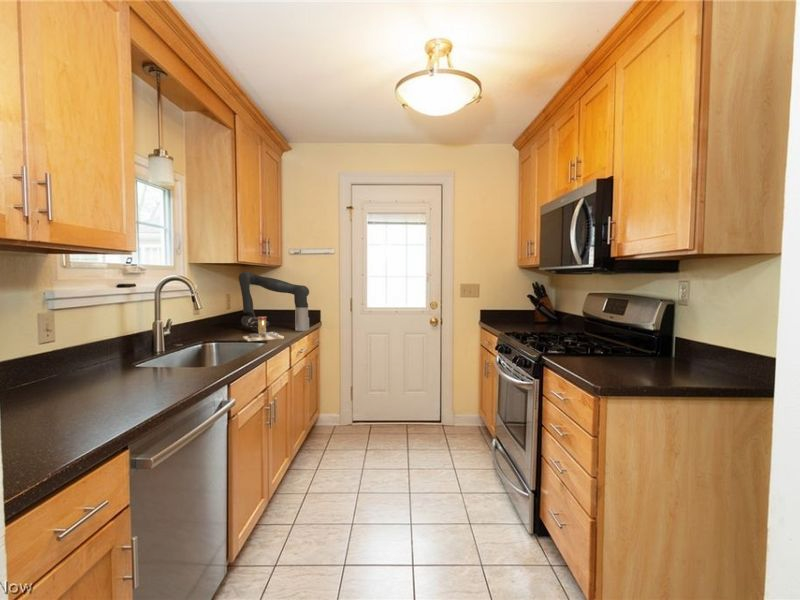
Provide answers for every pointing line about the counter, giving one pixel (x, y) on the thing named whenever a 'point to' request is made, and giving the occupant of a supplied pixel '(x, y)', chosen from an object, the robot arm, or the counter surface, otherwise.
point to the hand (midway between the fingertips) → (260, 325)
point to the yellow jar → (261, 325)
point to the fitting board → (263, 336)
